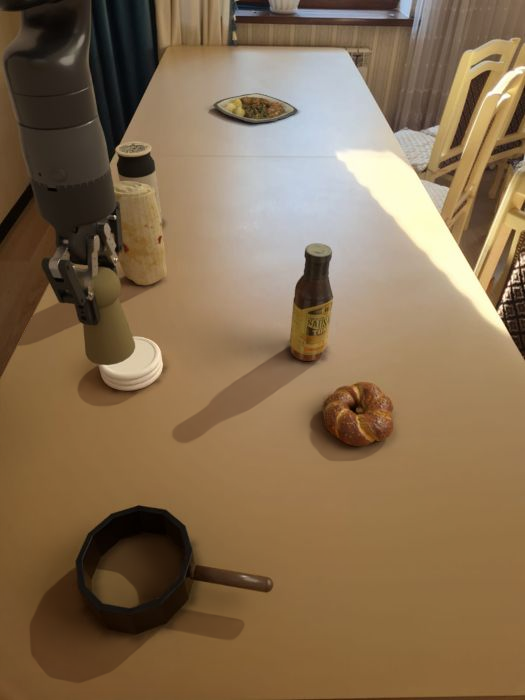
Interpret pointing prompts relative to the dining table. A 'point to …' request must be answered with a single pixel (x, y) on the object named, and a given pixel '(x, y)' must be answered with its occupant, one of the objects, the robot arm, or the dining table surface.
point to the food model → (140, 233)
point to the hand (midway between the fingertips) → (100, 306)
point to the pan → (175, 595)
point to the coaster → (135, 367)
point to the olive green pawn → (108, 323)
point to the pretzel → (358, 414)
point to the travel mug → (137, 165)
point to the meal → (255, 108)
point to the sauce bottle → (312, 305)
